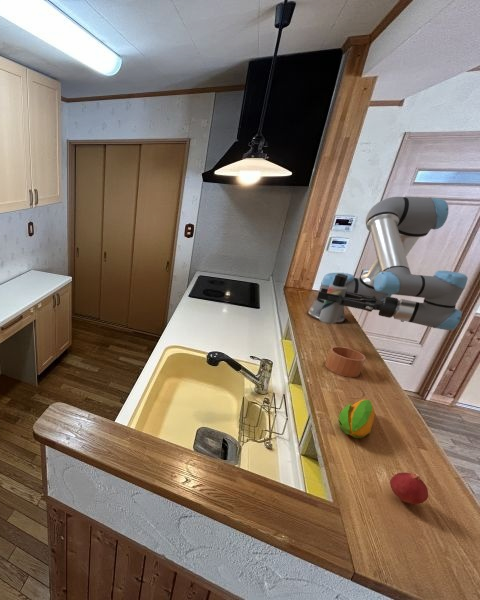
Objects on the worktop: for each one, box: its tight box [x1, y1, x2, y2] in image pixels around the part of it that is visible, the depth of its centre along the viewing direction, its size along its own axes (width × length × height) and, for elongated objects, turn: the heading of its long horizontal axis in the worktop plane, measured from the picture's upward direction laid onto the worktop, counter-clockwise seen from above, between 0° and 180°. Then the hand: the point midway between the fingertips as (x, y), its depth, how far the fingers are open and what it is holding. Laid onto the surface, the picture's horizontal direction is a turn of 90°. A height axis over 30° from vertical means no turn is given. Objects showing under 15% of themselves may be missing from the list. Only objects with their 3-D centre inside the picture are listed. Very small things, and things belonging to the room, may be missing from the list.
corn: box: [338, 398, 376, 439], centre depth 93 cm, size 7×8×20 cm
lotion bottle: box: [318, 274, 348, 325], centre depth 129 cm, size 6×6×20 cm
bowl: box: [324, 345, 366, 378], centre depth 120 cm, size 10×10×7 cm
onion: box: [389, 472, 429, 505], centre depth 70 cm, size 6×6×8 cm
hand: (319, 293), depth 132 cm, fingers closed on lotion bottle, 6 cm apart
